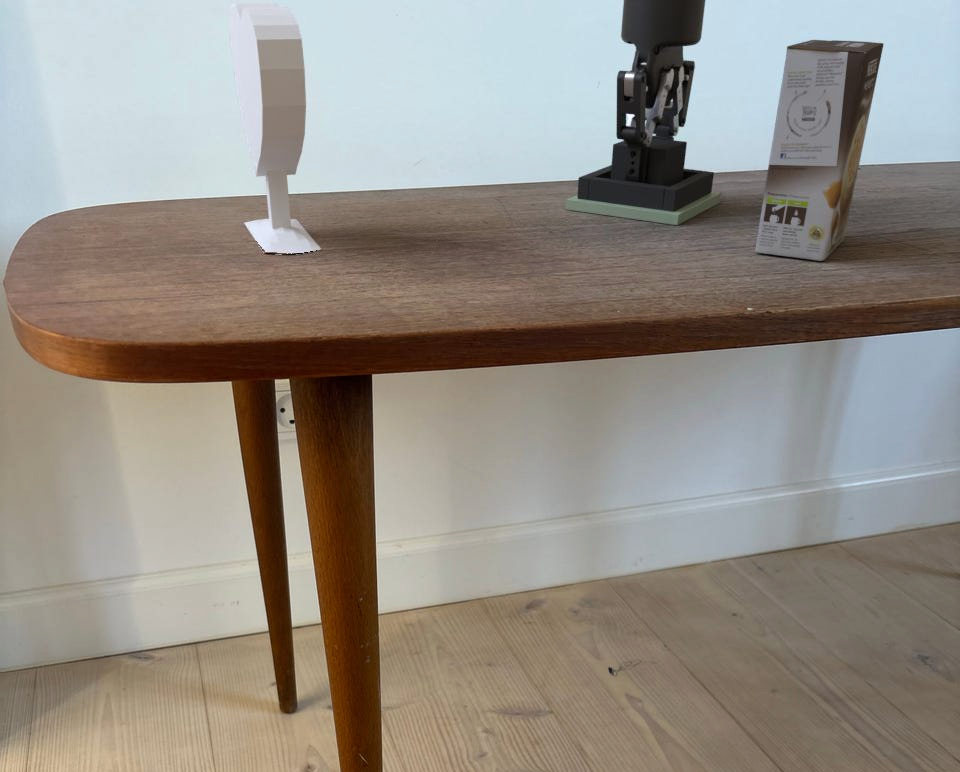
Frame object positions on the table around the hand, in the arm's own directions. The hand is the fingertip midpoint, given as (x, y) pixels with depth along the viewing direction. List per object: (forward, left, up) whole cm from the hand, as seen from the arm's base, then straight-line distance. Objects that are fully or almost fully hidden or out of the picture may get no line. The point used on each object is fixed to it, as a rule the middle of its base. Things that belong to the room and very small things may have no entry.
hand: (647, 180), depth 106 cm
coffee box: (-18, +7, -3) cm, 20 cm away
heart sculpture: (+23, +30, -3) cm, 38 cm away
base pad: (0, 0, -2) cm, 2 cm away
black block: (0, 0, -1) cm, 1 cm away
